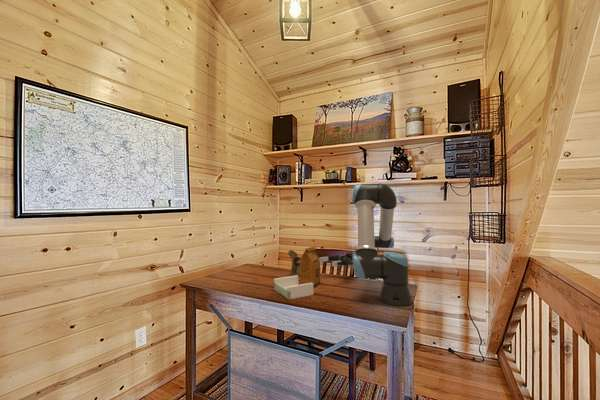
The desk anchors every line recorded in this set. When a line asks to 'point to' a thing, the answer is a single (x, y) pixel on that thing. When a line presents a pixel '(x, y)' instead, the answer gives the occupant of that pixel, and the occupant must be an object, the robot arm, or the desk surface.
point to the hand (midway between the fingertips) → (325, 262)
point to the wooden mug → (295, 263)
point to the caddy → (292, 287)
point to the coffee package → (310, 267)
